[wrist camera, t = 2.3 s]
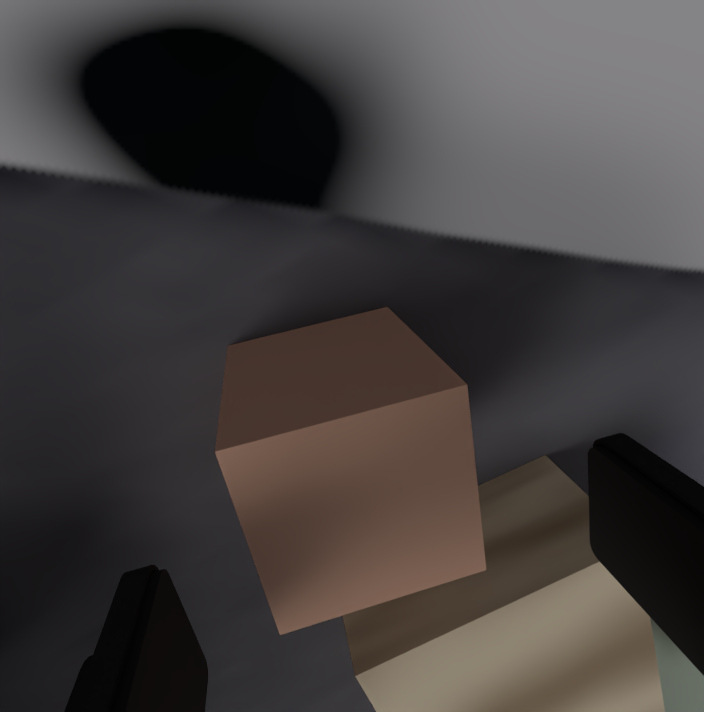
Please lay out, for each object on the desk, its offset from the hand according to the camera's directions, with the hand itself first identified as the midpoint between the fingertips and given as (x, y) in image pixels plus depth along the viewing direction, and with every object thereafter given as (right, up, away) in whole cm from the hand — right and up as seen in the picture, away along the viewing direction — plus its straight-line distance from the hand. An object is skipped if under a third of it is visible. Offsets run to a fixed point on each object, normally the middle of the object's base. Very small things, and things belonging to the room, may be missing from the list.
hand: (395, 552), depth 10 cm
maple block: (+4, -5, +10) cm, 12 cm away
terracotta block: (-2, +3, +5) cm, 6 cm away
